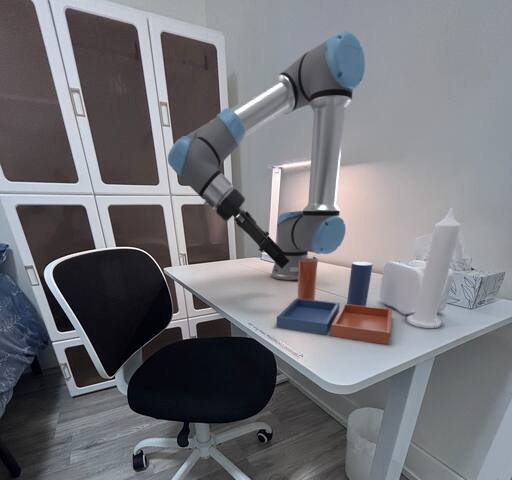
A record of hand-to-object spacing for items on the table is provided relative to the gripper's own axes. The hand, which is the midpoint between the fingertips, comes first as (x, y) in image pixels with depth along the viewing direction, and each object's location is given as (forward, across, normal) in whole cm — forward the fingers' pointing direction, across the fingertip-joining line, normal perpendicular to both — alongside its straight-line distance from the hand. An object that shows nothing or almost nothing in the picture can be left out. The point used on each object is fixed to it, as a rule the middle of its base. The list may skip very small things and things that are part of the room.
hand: (283, 260), depth 79 cm
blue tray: (+13, +14, -5) cm, 19 cm away
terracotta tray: (+21, +19, +3) cm, 28 cm away
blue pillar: (+22, +6, +5) cm, 24 cm away
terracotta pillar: (+14, 0, -4) cm, 14 cm away
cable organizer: (+33, +6, +15) cm, 37 cm away
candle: (+31, +17, +14) cm, 38 cm away
